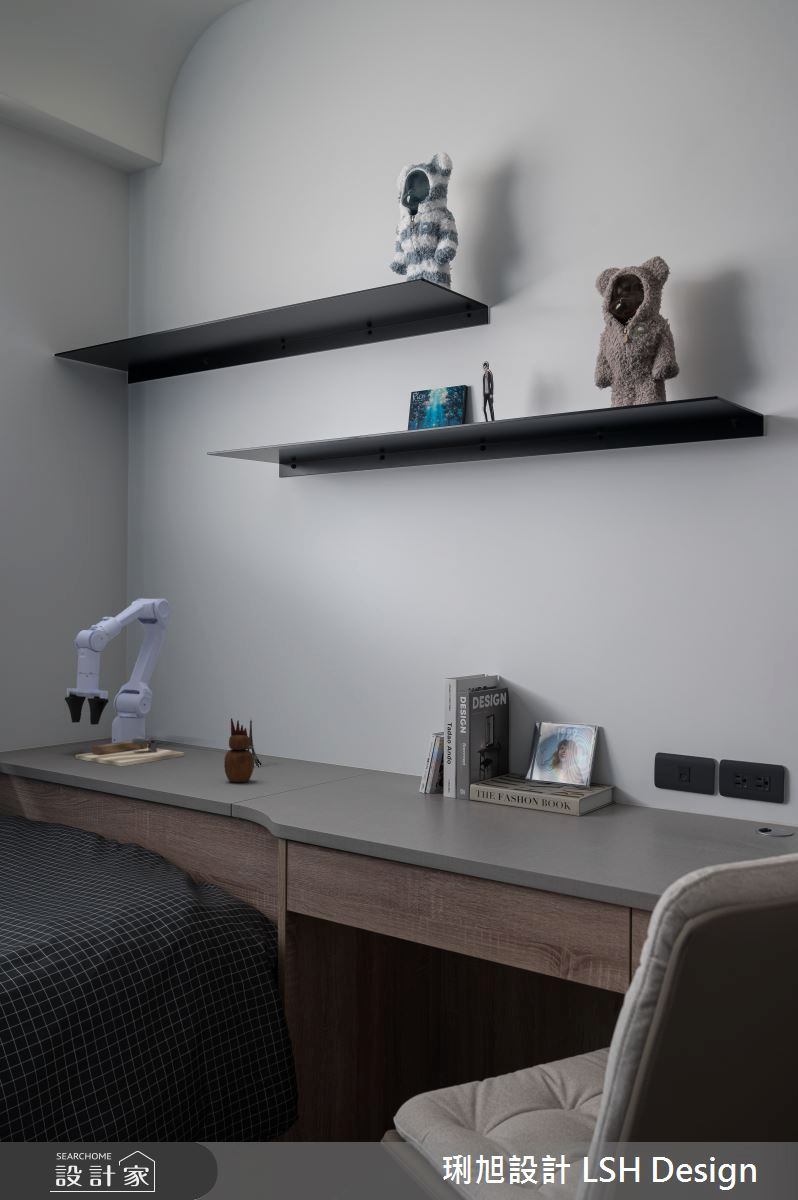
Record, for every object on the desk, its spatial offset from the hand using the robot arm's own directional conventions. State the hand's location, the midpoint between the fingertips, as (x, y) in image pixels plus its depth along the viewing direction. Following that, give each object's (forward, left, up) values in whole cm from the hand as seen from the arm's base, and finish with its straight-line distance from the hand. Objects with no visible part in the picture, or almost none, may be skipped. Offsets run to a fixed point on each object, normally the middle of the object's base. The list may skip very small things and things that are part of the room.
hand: (85, 723), depth 264 cm
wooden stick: (+7, +7, -8) cm, 12 cm away
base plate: (+12, +6, -9) cm, 16 cm away
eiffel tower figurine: (+45, +18, -10) cm, 50 cm away
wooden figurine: (+60, 0, -9) cm, 60 cm away
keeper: (+13, +10, -8) cm, 18 cm away
